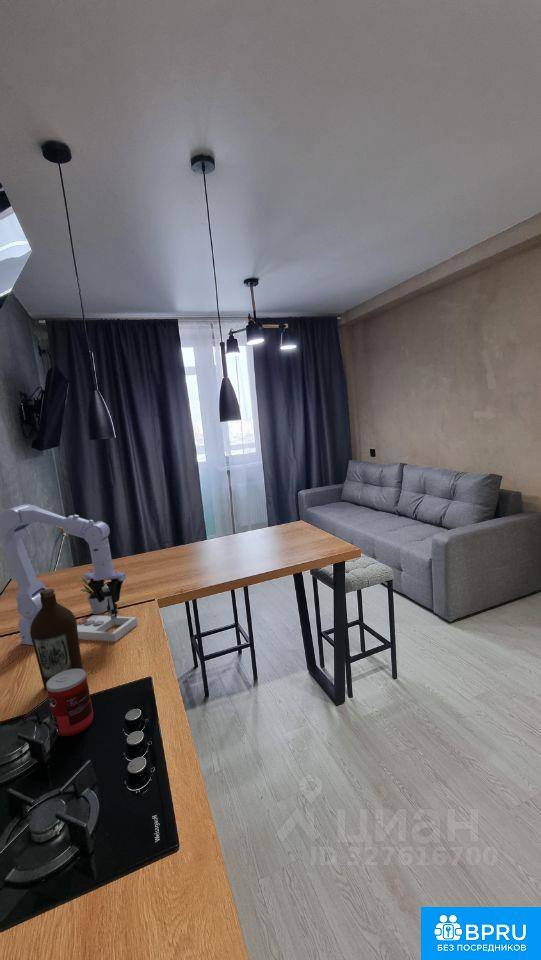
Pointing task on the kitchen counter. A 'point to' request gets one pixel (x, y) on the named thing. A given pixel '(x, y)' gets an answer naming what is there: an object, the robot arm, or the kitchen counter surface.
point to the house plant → (95, 599)
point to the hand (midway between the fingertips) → (109, 601)
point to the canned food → (70, 701)
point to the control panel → (105, 627)
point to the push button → (109, 602)
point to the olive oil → (55, 638)
